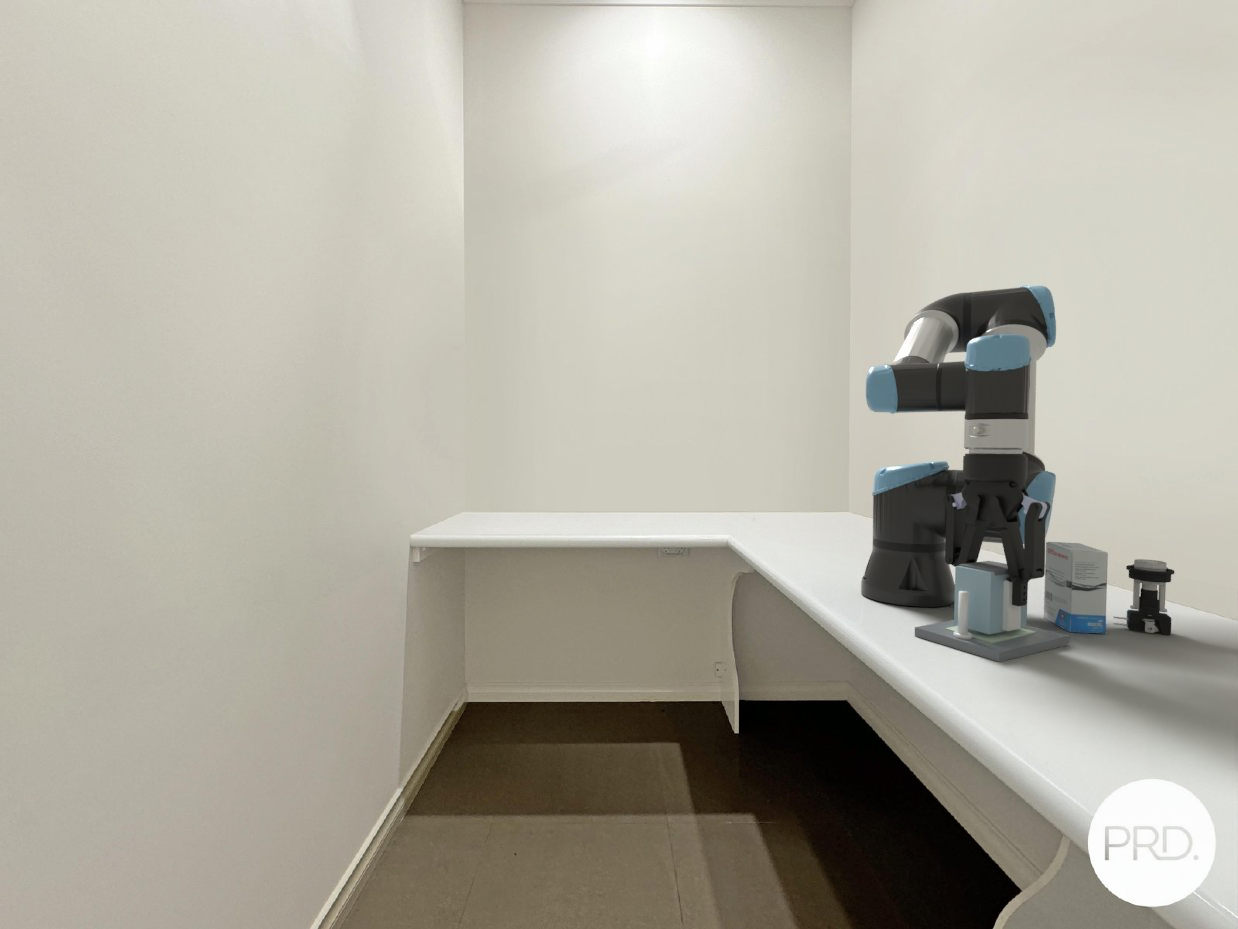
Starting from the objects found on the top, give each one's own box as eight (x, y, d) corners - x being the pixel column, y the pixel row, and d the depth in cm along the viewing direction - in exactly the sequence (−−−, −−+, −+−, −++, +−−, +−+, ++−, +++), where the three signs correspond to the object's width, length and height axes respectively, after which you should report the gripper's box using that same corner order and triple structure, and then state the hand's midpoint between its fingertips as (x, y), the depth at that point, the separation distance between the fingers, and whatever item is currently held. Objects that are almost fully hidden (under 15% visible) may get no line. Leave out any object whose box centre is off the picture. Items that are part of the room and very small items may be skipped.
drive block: (953, 624, 90) (955, 564, 89) (990, 617, 93) (992, 560, 93) (989, 634, 85) (991, 571, 85) (1026, 627, 89) (1028, 566, 88)
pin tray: (914, 635, 91) (915, 584, 91) (982, 622, 98) (984, 574, 98) (998, 661, 81) (1000, 603, 80) (1068, 644, 87) (1070, 590, 87)
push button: (1116, 632, 93) (1118, 562, 93) (1109, 622, 98) (1112, 556, 98) (1176, 638, 90) (1179, 566, 90) (1166, 629, 95) (1169, 560, 95)
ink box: (1107, 635, 92) (1110, 551, 92) (1068, 632, 93) (1070, 550, 93) (1077, 618, 100) (1080, 542, 100) (1042, 616, 101) (1044, 540, 101)
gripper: (918, 450, 95) (914, 611, 95) (1048, 453, 79) (1043, 646, 79) (952, 450, 98) (948, 605, 99) (1083, 453, 82) (1078, 637, 83)
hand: (990, 623), depth 89 cm, fingers closed on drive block, 5 cm apart
